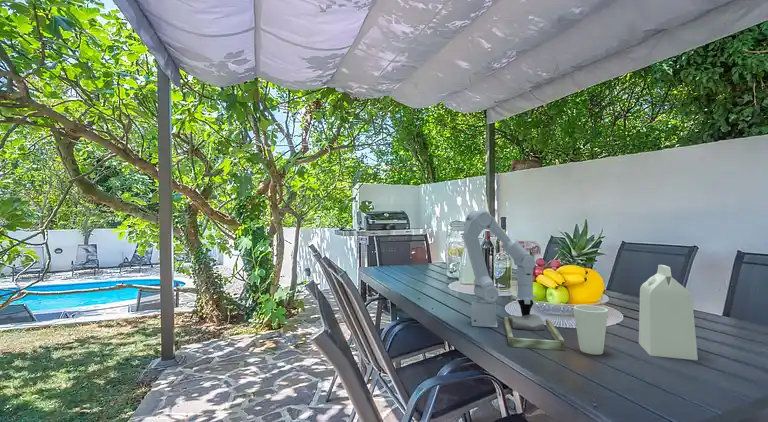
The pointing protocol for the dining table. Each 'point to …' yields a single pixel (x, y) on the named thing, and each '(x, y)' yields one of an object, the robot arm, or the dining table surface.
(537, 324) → the stone block
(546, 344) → the channel
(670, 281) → the milk
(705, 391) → the dining table surface
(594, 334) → the foam cup
